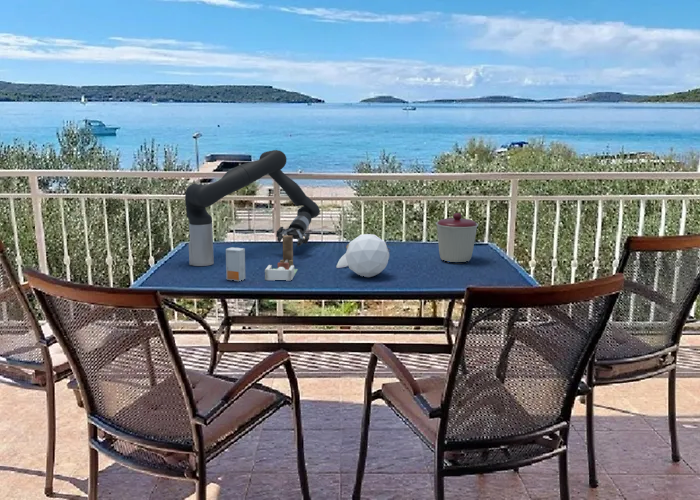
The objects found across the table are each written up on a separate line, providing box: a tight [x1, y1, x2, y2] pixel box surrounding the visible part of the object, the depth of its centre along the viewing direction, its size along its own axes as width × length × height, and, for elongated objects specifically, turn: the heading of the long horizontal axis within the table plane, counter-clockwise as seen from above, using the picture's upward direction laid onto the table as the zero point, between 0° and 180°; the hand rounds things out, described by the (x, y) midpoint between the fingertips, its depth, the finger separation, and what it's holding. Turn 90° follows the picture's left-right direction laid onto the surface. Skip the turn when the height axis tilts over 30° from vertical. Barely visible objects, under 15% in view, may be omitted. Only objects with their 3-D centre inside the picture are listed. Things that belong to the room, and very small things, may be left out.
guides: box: [279, 259, 294, 268], centre depth 245 cm, size 5×1×3 cm, turn 87°
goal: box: [264, 264, 295, 282], centre depth 228 cm, size 10×8×4 cm
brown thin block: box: [277, 234, 294, 270], centre depth 242 cm, size 4×15×12 cm, turn 177°
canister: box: [435, 212, 479, 263], centre depth 257 cm, size 18×18×21 cm
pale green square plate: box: [272, 267, 299, 276], centre depth 237 cm, size 10×9×1 cm
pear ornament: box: [335, 233, 390, 278], centre depth 237 cm, size 16×22×28 cm
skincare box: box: [225, 247, 246, 282], centre depth 224 cm, size 6×4×12 cm
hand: (288, 242), depth 259 cm, fingers open, 8 cm apart
